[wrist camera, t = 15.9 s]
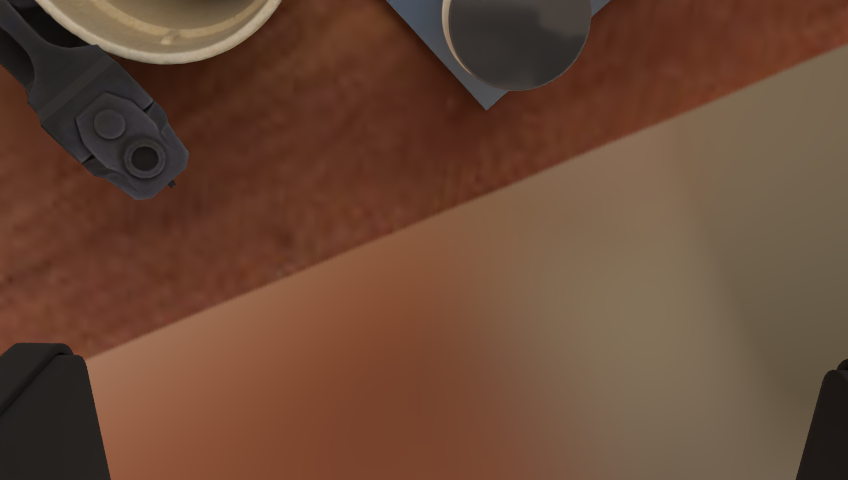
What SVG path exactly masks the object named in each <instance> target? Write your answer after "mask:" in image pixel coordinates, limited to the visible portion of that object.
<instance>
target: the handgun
mask: <svg viewBox="0 0 848 480" xmlns="http://www.w3.org/2000/svg"><path fill="white" fill-rule="evenodd" d="M0 63H1V64H2V65H3V66H4V67H5V68H6V69H7V70H8V71H9V72H10V73H11V74H12V75H13V76H14V77H15V78H16V79H17V80H18V81H19V82H20V84H21V85H22V86H23V87H24V88H25V90H26V93H27V95H28V104H29V105H30V106H31V107H32V108H33V110H34V111H35V112H36V113H37V114H38V117H39V120H40V123H41V127H42V128H43V129H44V130H45V131H46V132H47V133H48V134H49V135H50V136H51V137H52V138H53V139H54V140H55V141H56V142H58V143H59V144H60V145H61V146H62V147H63V148H64V149H65V150H66V151H67V152H68V153H69V154H71V155H72V156H73V157H74V158H75V159H76V160H77V161H78V162H81V163H82V165H83V166H84V167H85V168H86V169H87V170H88V171H89V172H90V173H91V174H92V175H94V176H98V177H101V178H105V179H107V180H108V181H109V182H111V183H112V184H114V185H115V186H117V187H118V188H120V189H121V190H123V191H124V192H125V193H127V194H128V195H130V196H131V197H133V198H134V199H135V200H140V199H148V198H153V197H154V196H155V195H156V194H157V193H158V192H159V191H161V190H162V189H163V188H164V187H165V186H166V185H167V184H168V185H169V186H170V187H171V188H172V187H173V186H174V185H176V184H175V182H174V181H173V179H174V178H175V177H176V176H177V175H178V174H180V173H181V172H182V171H183V170H184V169H185V168H186V167H187V162H188V156H189V152H188V151H187V149H186V148H185V146H184V145H183V144H182V142H181V141H180V139H179V138H178V136H177V135H176V134H175V132H174V131H173V129H172V128H171V126H170V125H169V124H168V120H167V115H166V112H165V111H164V110H163V109H162V108H161V107H160V106H159V105H158V104H157V103H156V102H155V101H154V100H153V99H152V98H151V96H150V95H149V94H148V93H147V92H146V91H145V90H144V89H143V88H142V87H141V86H140V85H139V84H138V83H137V82H136V81H135V80H134V79H133V78H132V77H131V76H130V75H129V74H128V72H127V71H126V70H125V69H124V68H123V67H122V66H121V65H120V64H119V63H118V62H116V61H115V60H114V59H113V58H111V57H110V56H109V55H108V54H107V53H106V52H105V51H104V50H102V49H101V48H100V47H99V46H98V45H97V44H95V45H91V44H89V43H87V42H86V41H84V40H82V39H81V38H79V37H78V36H77V35H75V34H72V33H71V32H70V31H69V30H67V29H66V28H64V27H63V26H62V25H61V24H59V23H58V22H57V21H55V19H54V18H52V16H51V15H49V14H48V13H46V12H45V10H44V9H43V8H42V7H41V6H40V5H39V4H38V3H37V2H36V1H35V0H0Z"/></svg>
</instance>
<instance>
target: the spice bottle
mask: <svg viewBox="0 0 848 480" xmlns="http://www.w3.org/2000/svg"><path fill="white" fill-rule="evenodd" d="M591 15H592V11H591V1H590V0H443V2H442V25H443V32H444V35H445V39H446V42H447V44H448V46H449V49H450V51H451V52H452V54H453V56H454V57H455V59H456V60H457V61H458V62H459V64H460V65H461V66H462V67H463V68H464V69H465V70H466V71H467V72H469V73H470V74H471V75H473V76H474V77H476V78H477V79H479V80H480V81H482V82H484V83H485V84H487V85H489V86H492V87H495V88H498V89H502V90H508V91H525V90H532V89H535V88H539V87H542V86H544V85H546V84H548V83H550V82H552V81H554V80H555V79H557V78H558V77H560V76H561V75H562V74H564V73H565V72H566V71H567V70H568V69H569V68H570V67H571V66H572V65H573V63H574V62H575V61H576V60H577V58H578V57H579V55H580V53H581V52H582V50H583V48H584V46H585V43H586V41H587V38H588V35H589V31H590V26H591Z"/></svg>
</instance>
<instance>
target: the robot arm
mask: <svg viewBox="0 0 848 480" xmlns="http://www.w3.org/2000/svg"><path fill="white" fill-rule="evenodd" d="M0 480H111V479H110V474H109V469H108V464H107V460H106V455H105V450H104V446H103V441H102V436H101V432H100V427H99V422H98V417H97V413H96V408H95V403H94V399H93V394H92V389H91V385H90V380H89V375H88V371H87V366H86V363H85V361H84V359H83V358H82V357H81V356H79V355H73V352H72V350H71V349H70V348H69V346H67V345H65V344H60V343H17V344H15V345H13V346H12V347H10V348H9V349H8V350H7V351H6V352H5V353H4V354H3V355H2V356H1V357H0ZM796 480H848V359H846V360H844V361H842V362H841V363H840V364H839V366H838V368H837V370H831V371H829V372H828V373H827V374H826V375H825V377H824V379H823V382H822V386H821V389H820V393H819V397H818V400H817V404H816V407H815V411H814V415H813V419H812V422H811V426H810V429H809V433H808V437H807V441H806V444H805V448H804V451H803V455H802V459H801V462H800V466H799V470H798V473H797V477H796Z"/></svg>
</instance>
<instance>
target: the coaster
mask: <svg viewBox="0 0 848 480" xmlns="http://www.w3.org/2000/svg"><path fill="white" fill-rule="evenodd" d="M386 1H387V2H388V3H389V4H390V5H391V6H392V7H393V9H394V10H395V11H396V12H397V13H398V14H399V15H400V16H401V17H402V19H403V20H404V21H405V22H406V23H407V24H408V25H409V26H410V27H411V28H412V30H413V31H414V32H415V33H416V34H417V35H418V36H419V37H420V38H421V39H422V41H423V42H424V43H425V44H426V45H427V46H428V47H429V48H430V49H431V50H432V52H433V53H434V54H435V55H436V56H437V57H438V58H439V59H440V60H441V62H442V63H443V64H444V65H445V66H446V67H447V68H448V69H449V70H450V71H451V73H452V74H453V75H454V76H455V77H456V78H457V79H458V80H459V81H460V82H461V84H462V85H463V86H464V87H465V88H466V89H467V90H468V91H469V92H470V93H471V95H472V96H473V97H474V98H475V99H476V100H477V101H478V102H479V103H480V105H481V106H482V107H483V108H484V109H485V110H488V109H489V108H490V107H491V106H492V105H493V104H495V103H496V102H497V101H498V100H499V99H500V98H501V97H502V96H504V95H505V94H506V93H507V92H508V90H502V89H498V88H495V87H492V86H489V85H487V84H485V83H484V82H482V81H480V80H479V79H477V78H476V77H474V76H473V75H471V74H470V73H469V72H467V71H466V70H465V69H464V68H463V67H462V66H461V65H460V64H459V62H458V61H457V60H456V59H455V57H454V56H453V54H452V52H451V51H450V49H449V46H448V44H447V42H446V39H445V35H444V32H443V25H442V2H443V0H386ZM590 1H591V11H592V15H591V17H592V16H594V15H595V14H596V13H597V12H598V11H599V10H600V9H601V8H603V7H604V6H605V5H606V4H607V3H608V2H609V1H610V0H590Z"/></svg>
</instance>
